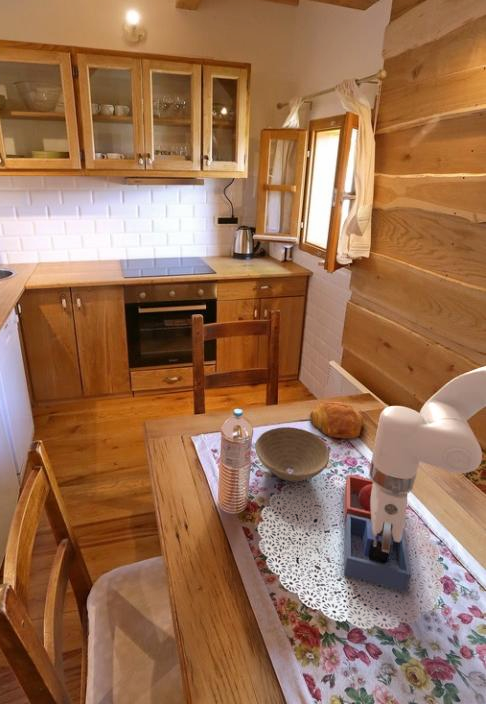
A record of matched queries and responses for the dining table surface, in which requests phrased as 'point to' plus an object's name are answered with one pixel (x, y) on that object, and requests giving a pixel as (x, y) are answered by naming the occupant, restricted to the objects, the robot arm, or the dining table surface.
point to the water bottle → (235, 463)
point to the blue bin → (371, 569)
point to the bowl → (292, 453)
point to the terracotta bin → (355, 486)
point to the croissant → (337, 419)
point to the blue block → (369, 537)
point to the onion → (365, 497)
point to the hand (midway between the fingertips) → (376, 548)
